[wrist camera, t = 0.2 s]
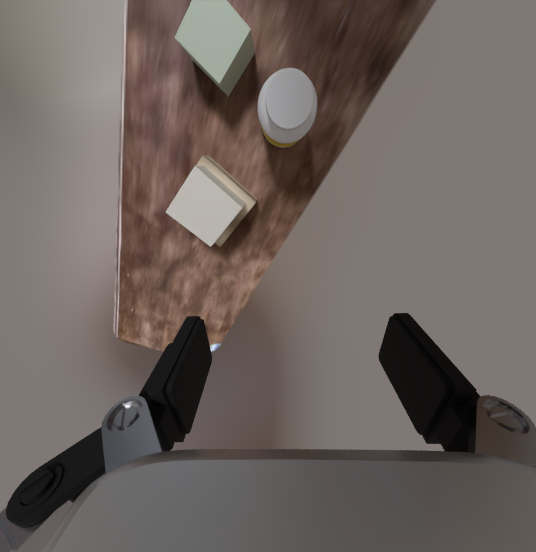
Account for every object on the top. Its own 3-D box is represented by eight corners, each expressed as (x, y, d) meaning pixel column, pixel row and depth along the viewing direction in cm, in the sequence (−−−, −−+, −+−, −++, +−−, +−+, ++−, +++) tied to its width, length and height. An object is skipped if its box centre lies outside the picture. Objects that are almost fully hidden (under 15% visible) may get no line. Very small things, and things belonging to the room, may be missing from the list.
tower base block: (210, 156, 35) (202, 155, 31) (257, 198, 38) (255, 202, 34) (179, 204, 38) (169, 208, 35) (224, 239, 41) (220, 247, 38)
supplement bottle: (303, 148, 33) (319, 142, 22) (261, 147, 34) (255, 140, 22) (308, 93, 30) (329, 53, 19) (261, 92, 30) (254, 52, 19)
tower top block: (203, 165, 32) (194, 165, 28) (245, 203, 34) (242, 207, 31) (176, 207, 35) (165, 212, 31) (217, 239, 37) (210, 247, 33)
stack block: (217, 10, 27) (204, -27, 21) (254, 53, 29) (250, 29, 23) (192, 60, 29) (174, 37, 24) (228, 97, 31) (219, 83, 25)
